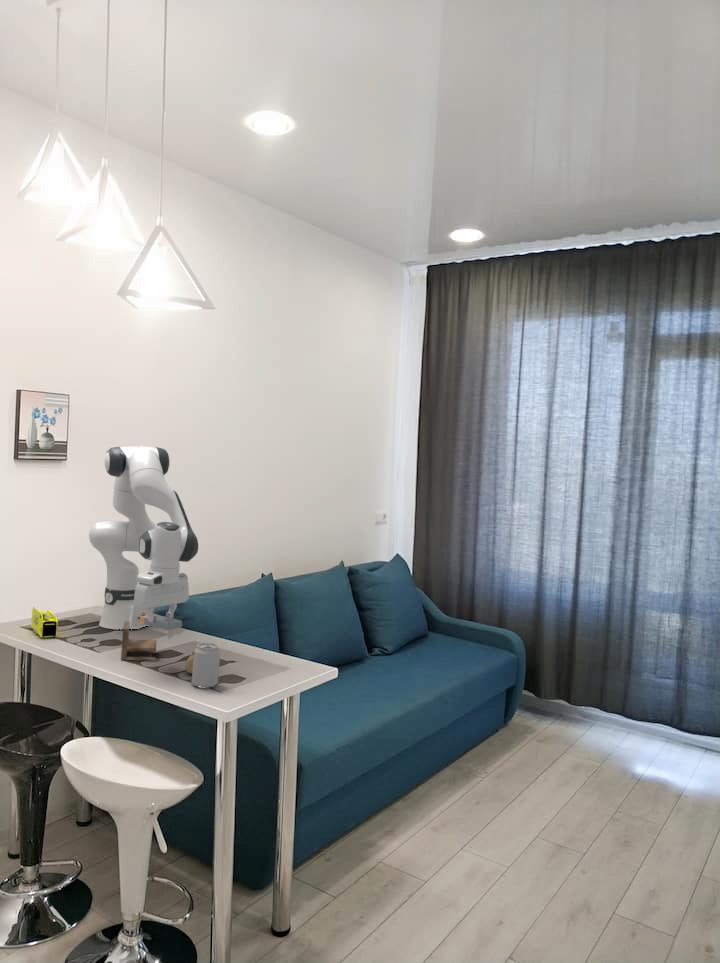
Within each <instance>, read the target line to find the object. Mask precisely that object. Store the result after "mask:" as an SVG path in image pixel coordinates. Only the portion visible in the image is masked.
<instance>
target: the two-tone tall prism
mask: <svg viewBox="0 0 720 963" xmlns="http://www.w3.org/2000/svg"><path fill="white" fill-rule="evenodd" d="M154 616H156V621H155V622H149V621H148V617H149V616H148V615H145V616H140V620H139V623H141V624H145V625H149V626H148V627H154V628H156V629H157V628H158V629H160V630H165V631H171V630H176V629H180V628H182V627H183V620H180V619H176V618H174V617H173V618H169V617H166V615H160V614H156V613H154Z"/></svg>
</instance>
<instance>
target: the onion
mask: <svg viewBox="0 0 720 963" xmlns="http://www.w3.org/2000/svg"><path fill="white" fill-rule="evenodd" d="M193 660H194V650H192V653H191V655H190V656H189V657H188V658H187V659H186V662H185V670H186V671H187V673H188V674H191V675H192V672H193Z"/></svg>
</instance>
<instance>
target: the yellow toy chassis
mask: <svg viewBox="0 0 720 963" xmlns="http://www.w3.org/2000/svg"><path fill="white" fill-rule="evenodd" d="M31 611H32V612H31V620H30V621H31V625H30V626H31V629H32V632H33V633H34V634H35V635H37V634H38V636H39V637H40V638H41V639H42V638H43V639H48V638H55V637H57V636H58V624H59V623H58V622H59V621H58V617H57V616H56V615H55V614H54V613H52V611H51V610H49V609H47V610H46V611H40V610H39V609H38V608H37V607H36V606H33V608H32V610H31Z"/></svg>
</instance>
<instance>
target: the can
mask: <svg viewBox="0 0 720 963" xmlns="http://www.w3.org/2000/svg"><path fill="white" fill-rule="evenodd" d="M193 651H194V660H193V672H192V674H191V683H192V684H194V685H195V686H201V687H209V686H214V685H215V686H217V685H218V683H219V673H220V662H221V649H219V645H218V644H217V643H214V642H213V643H212V642H201V643H198V644H197V645H196V648H194V649H193ZM216 684H217V685H216ZM194 685H193V686H194ZM195 686H194V687H195ZM215 686H214V687H215Z"/></svg>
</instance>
